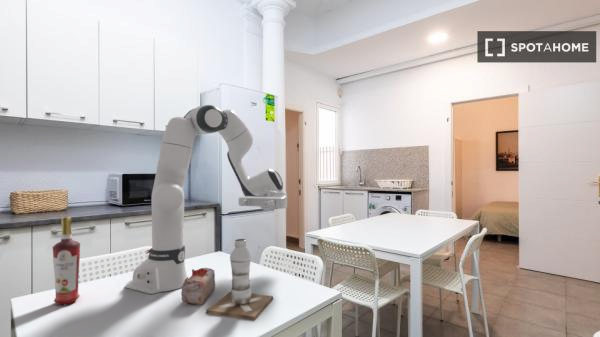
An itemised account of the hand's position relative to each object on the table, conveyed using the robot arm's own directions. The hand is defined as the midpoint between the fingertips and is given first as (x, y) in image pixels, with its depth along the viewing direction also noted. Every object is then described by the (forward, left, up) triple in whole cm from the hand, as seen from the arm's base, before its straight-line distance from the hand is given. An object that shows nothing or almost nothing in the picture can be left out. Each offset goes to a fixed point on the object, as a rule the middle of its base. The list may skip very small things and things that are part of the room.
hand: (255, 203), depth 124 cm
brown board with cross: (+5, -23, -30) cm, 38 cm away
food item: (-12, -21, -30) cm, 38 cm away
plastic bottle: (+5, -23, -29) cm, 37 cm away
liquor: (-52, -35, -30) cm, 70 cm away
